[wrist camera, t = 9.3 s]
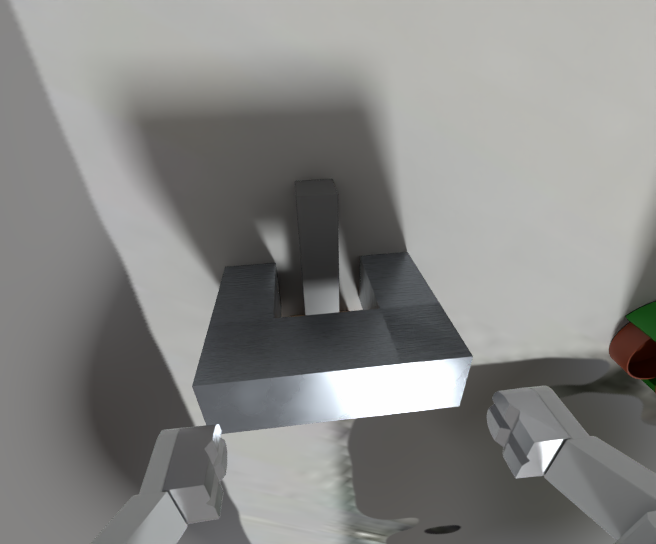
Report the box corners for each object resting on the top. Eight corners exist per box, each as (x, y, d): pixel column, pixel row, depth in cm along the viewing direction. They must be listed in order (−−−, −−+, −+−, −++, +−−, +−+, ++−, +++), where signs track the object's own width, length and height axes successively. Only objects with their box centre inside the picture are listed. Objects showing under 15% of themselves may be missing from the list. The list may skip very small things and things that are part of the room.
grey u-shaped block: (225, 267, 26) (192, 386, 16) (407, 252, 27) (472, 356, 17) (234, 308, 28) (210, 435, 19) (403, 293, 29) (459, 406, 20)
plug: (276, 182, 23) (274, 210, 18) (350, 177, 23) (365, 204, 19) (295, 357, 32) (296, 404, 27) (348, 352, 32) (358, 397, 28)
